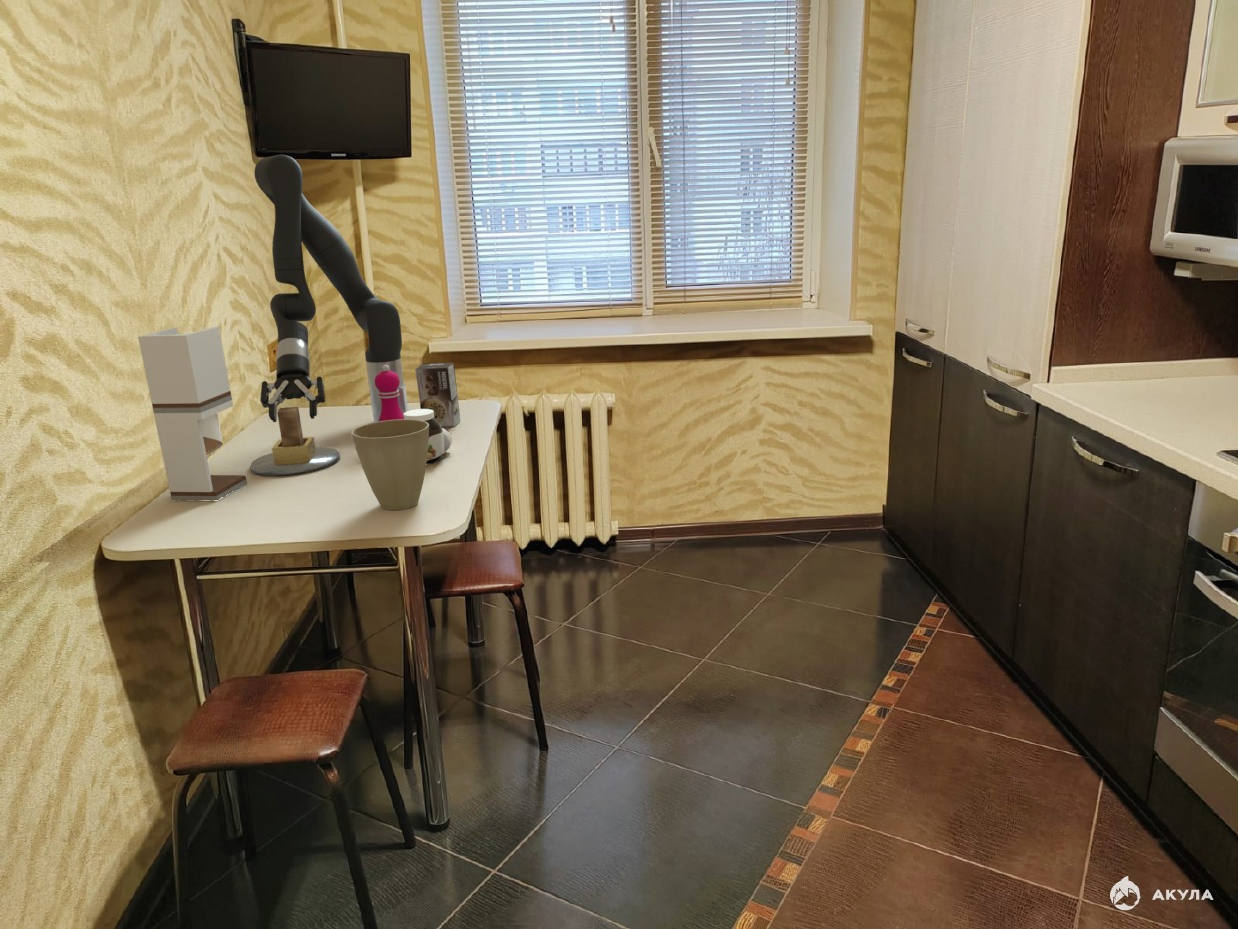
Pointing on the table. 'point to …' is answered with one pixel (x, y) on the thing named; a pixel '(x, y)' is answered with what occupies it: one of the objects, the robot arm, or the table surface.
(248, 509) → the table surface
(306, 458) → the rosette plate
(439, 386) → the coffee box
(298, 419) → the tall tan wooden block
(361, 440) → the plant pot
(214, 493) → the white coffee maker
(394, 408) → the pepper mill
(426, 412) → the spread jar
